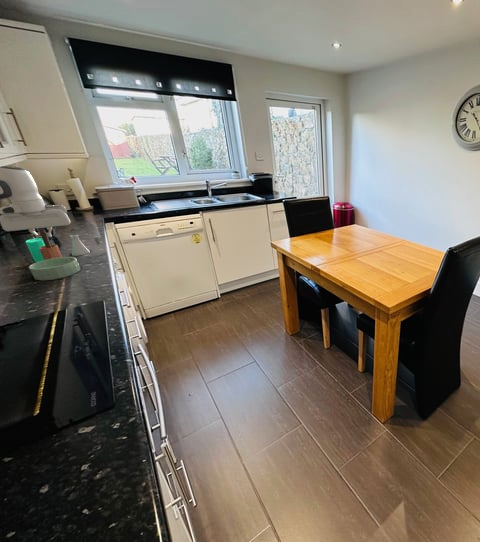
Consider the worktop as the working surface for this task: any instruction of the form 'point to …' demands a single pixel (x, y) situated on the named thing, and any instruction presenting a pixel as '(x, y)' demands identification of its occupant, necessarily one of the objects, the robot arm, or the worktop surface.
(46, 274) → the mixing bowl
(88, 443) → the worktop surface
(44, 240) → the stirring stick
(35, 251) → the candle
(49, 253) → the utensil pot
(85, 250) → the flask
